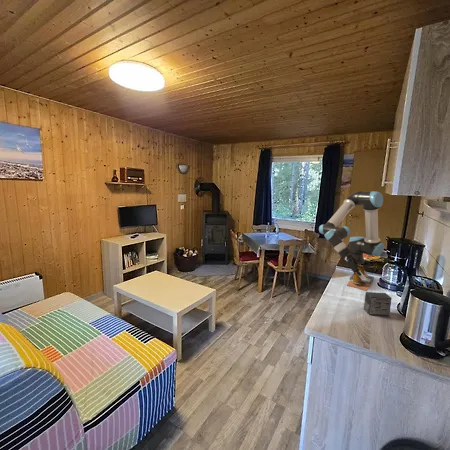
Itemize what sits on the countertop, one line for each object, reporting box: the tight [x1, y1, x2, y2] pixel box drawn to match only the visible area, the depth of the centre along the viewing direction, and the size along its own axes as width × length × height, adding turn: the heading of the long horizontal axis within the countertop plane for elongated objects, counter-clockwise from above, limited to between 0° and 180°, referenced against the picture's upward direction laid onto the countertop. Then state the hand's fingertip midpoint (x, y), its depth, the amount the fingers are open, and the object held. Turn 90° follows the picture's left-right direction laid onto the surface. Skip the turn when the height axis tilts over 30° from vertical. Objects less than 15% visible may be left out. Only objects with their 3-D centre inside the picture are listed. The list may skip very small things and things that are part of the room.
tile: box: [346, 279, 372, 292], centre depth 162 cm, size 12×12×1 cm
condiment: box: [350, 264, 367, 284], centre depth 160 cm, size 7×8×12 cm
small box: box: [363, 291, 393, 317], centre depth 127 cm, size 11×6×10 cm, turn 84°
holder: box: [349, 273, 375, 285], centre depth 172 cm, size 13×13×2 cm
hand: (365, 278), depth 158 cm, fingers closed on condiment, 6 cm apart
